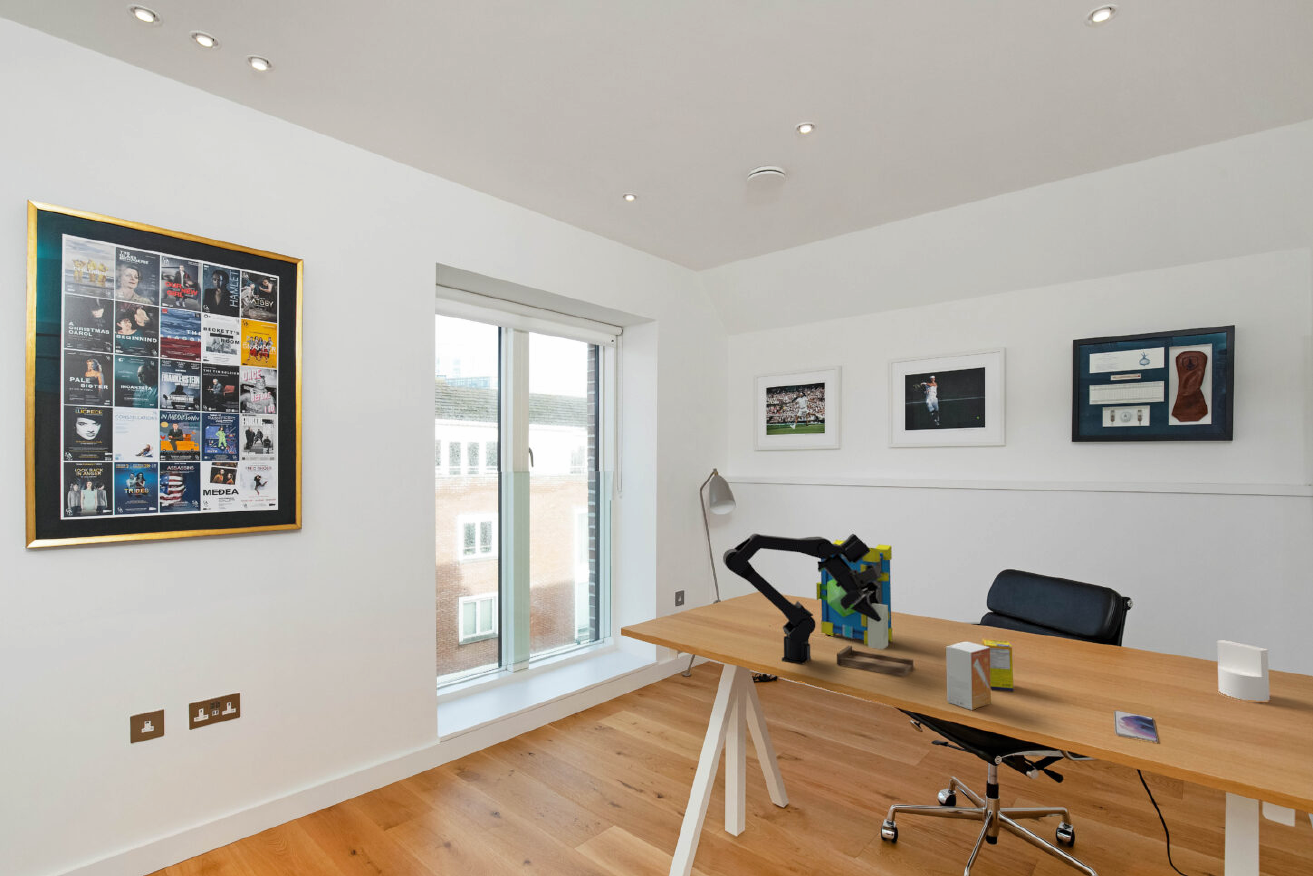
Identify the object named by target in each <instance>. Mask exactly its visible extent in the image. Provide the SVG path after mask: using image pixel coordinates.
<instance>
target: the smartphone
mask: <svg viewBox="0 0 1313 876" xmlns="http://www.w3.org/2000/svg"><path fill="white" fill-rule="evenodd" d="M1153 719H1154V718H1153V717H1151V716H1146V715H1140V714H1137V713H1136V714H1135V713H1132V712H1126V711H1119V710H1114V711H1113V723H1114V725H1113V726H1114V735H1115V734H1116V735H1115V736H1117V735H1118V736H1117V737H1121V736H1123V738H1126V737H1129V738H1128V739H1131V738H1137V739H1142V740H1147V741H1152V742H1158V743H1159V739H1158V734H1157V729H1156V724H1155V720H1154V721H1153Z"/></svg>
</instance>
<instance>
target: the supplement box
mask: <svg viewBox="0 0 1313 876" xmlns="http://www.w3.org/2000/svg"><path fill="white" fill-rule="evenodd" d="M981 643H982V644H981V645H983V646H987V647H990V676H991V690H995V691H996V690H998V691H1007V692H1008V691H1010V692H1014V672H1013V671H1014V668H1013V667H1014V664H1013V647H1012V645H1011V644H1010V642H1009V641H1008V640H999V639H989V638H988V639H986V638H982V641H981Z"/></svg>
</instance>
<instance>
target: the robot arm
mask: <svg viewBox="0 0 1313 876" xmlns="http://www.w3.org/2000/svg"><path fill="white" fill-rule="evenodd" d="M843 541H844V542H843V543H842V544H840V545H838V544H835V543H834V542H833V543H834V544H833V543H832V542H831V541H830V540H829V539H827V538H824V537H823V536H809V537H801V538H797V537H795V538H793V537H784V536H777V535H768V534H767V535H765V534H759V533H753V534H751V535H750V536H749V537H748V538H746V539H745V540H744V541H742V542H741V543H739V544H737V545H736V546H735V547H734V548H729V549H727V550H726V551H725V552H724V553H723V556H722V562H723V565H725V567H726V568H727V569H728V570H729V571H731V572H732V573H734V574H735V575H737V576H739V578H740V577H741V578H742V579H744V580H746V581H747V582H749V583H750V584H751V585H752V587H754V588H755V589H756V590H757V591H759V592H760V593H761V595H762V596H764V597H765V598H766V599H767V600H768V601H769V602H771V603H772V604H773V605H774V606H775V607H776V608H777V609H778V610H779V611H780V612H781V613H782V614H783V615H784V617H785V618H786V619H787V620H788V621H787V622H786V623H785V624H784V625H783V627H782V629H783V632H784V634H785V635H784V636H783V657H781V661H784V660H785V662H791V663H794V662H796V664H799V665H800V664H802V665H803V663H804V664H805V663H806V662H808V661H810V660H812V656H811V644H810V643H809V639H810V636H811V635H812V633H813V632H814V631H815V629H816V626H817V625H816V620H815V618H814V617H813V616H814V614H813V613H812V612H811V611H810V610H808V609H807V608H805V607H804V606H803V604H802V603H800V601H798V600H797V601H796V602H795V604H794V603H793V602H791V601H789V600H788V599H787V598H786V597H785V596H784V595H783V594H781V593H780V592H779V591H778V590H777V589H776V588H775V587H774V586H773V585H771V584H770V583H769V581H767V580H766V579H765V578H764V577H763V575H760V574H759V573H758V572H757V571H756V569H755V568H754V567H753V565H752V564H751V563H750V561H749V560H751V559H752V558H753V556H754V555H755V554H756V553H758V551H760V550H761V549H764V550H775V551H782V552H784V551H785V552H790V553H792V552H793V553H801V554H804V555H807V556H811V557H814V558H818V559H820V561H817V572H818V573H821V571H822V570H823V569H824V568H825V570H826V571H827V572H828V573H829V574H830V575H831V576H832V577H833V579H834V580H835V581H836V582H837V584H836V586H837V587H841V588H842V589H843V590H844V591H845V592H846V593H847V594H846V595H845V596H844V597H843V598H842V599H841V600H840V602H841V606H842V607H843V608H844V609H845V610H846V609H848V608H849V607H850V605H852V604H853V605H854V606H853V607H852V608H851V610H854V611H857V612H859V613H861V614H863V615H865V616H867V617H869V618H871V619H873V620H875V621H877V622H879V621H880V620H881V618H880V616H879V615H878V613H877V612H876V611H875V609H874V608H873V606H872V605H871V604H873V603H876V604H881V603H880V601H879V599H878V591H879V589H878V588H879V587H880V586H881V585H880V584H879V583H878V582H877V581H876V579H879V578H880V577H882V576H881V574H880V571H881V570H880V569H879V568H878V566H875V565H874V564H871V565H869V566H867V568H866V570H865V571H863V572H860V573H859V572H858V570H852V569H851V568H850V566H849V565H848V564H847V563H846V562H845V561H844V560H843V559H842V558H841V557H840V555H842V556H843V558H844V559H845V560H846V561H847V562H848V563H851V562H852V563H854V564H856V563H857V562H858V561H859V560H861V559H862V558H863V557H864V556H865V555H867V554H868V553H869V552H870V550H869V548H870V547H869V546H868V545H867V544H866V542H863V540H862V539H860V538H859V537H858V536H857V535H856V534H855V533H851V535H849V536H848V537H847V538H846V539H845V540H843ZM867 546H868V547H869V548H868V547H867ZM831 555H835V556H833V557H831ZM821 559H825V560H824V561H823V562H821ZM868 581H869V582H868Z"/></svg>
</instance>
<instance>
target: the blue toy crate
mask: <svg viewBox="0 0 1313 876" xmlns="http://www.w3.org/2000/svg"><path fill="white" fill-rule="evenodd" d="M844 541H845V540H842V539H835V541H834V542H833V543H832V544H834V543H835V544H838V545H840V544H842V543H843V542H844ZM867 547H868V548H869V550H870V552H869V553H868V554H867V555H865V556H864V557H863V558H862V559H861V560H859V561H858V562H857V563H856V564H854V563H852V562H851V563H848V562H847V561H846V560H845V559H844V558H843V556H842V555H840V557H841V558H842V559H843V560H844V561H845V562H846V563H847V564H848V565H849V566H850V568H851V569H852V570H858V572H859V573H860V572H863V571H865V570H866V568H867V566H869V565H871V564H874V565H875V566H878V568H879V569H880V570H881V571H880V574H881V576H882V577H880V578H879V579H876V581H877V582H878V583H879V584H880V585H881V586H880V587H879V588H878V589H879V591H878V599H879V601H880V603H881V604H883V605H888V642H891V643H892V642H893V628H892V603H891V602H892V599H891V597H892V595H891V593H892V592H891V560H893V558H892V556H893V555H892V545H889V544H881V543H880V544H877V546H876V547H869V546H868V545H867ZM833 556H835V555H831V557H833ZM824 560H825V559H820V562H823V561H824ZM868 582H869V581H868ZM836 584H837V582H836V581H835V580H834V579H833V577H832V576H831V575H830V574H829V573H828V572H827V571H826V570H825V568H824V569H823V570H822V571H821V572H820V582H819V581H818V582H816V583H815V586H816V601H819V600H821V620H820V624H821V625H820V629H821V632H820V634H821V633H825V634H828V635H831V636H833V637H835V635H837V634H838V635H842V636H843V637H844V638H849V639H853V640H855V639H858V640H863V645H864V644H867V645H868V617H867V616H865V615H863V614H861V613H859V612H857V611H854V610H851V608H852V607H853V606H854V605H853V604H852V605H850V607H849V608H848V609H846V610H845V609H844V608H843V607H842V606H841V602H840V600H841V599H842V598H843V597H844V596H845V595H846V594H847V593H846V592H845V591H844V590H843V589H842V588H841V587H837V586H836ZM867 645H866V646H867Z"/></svg>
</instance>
